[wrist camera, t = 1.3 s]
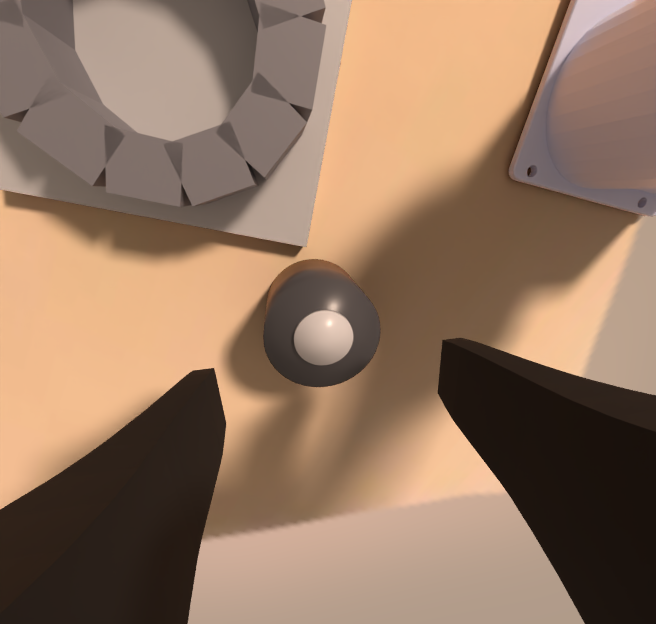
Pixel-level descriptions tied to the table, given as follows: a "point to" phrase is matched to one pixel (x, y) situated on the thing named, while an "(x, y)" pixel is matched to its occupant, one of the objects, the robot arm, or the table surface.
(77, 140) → the segmented ring plate
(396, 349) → the table surface
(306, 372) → the grey cylinder
